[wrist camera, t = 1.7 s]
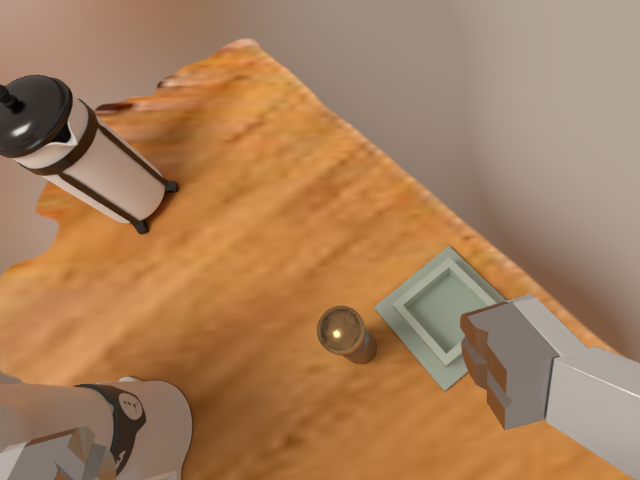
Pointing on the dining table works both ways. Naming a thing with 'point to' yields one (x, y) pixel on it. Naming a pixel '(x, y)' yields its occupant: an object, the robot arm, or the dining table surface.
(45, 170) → the coffee press
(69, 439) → the robot arm
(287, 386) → the dining table surface
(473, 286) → the green square tray
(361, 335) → the pin
